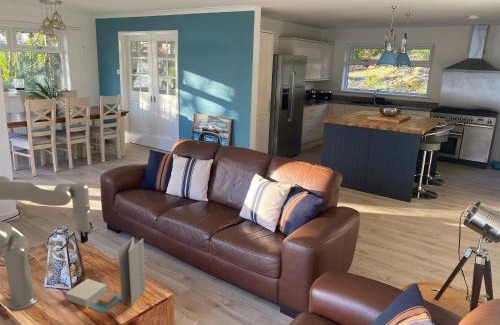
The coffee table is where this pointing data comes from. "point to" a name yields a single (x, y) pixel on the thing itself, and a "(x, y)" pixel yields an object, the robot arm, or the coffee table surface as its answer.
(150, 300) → the coffee table surface
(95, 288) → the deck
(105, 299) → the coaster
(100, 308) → the mat
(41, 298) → the coffee table surface
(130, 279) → the brochure
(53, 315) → the coffee table surface
